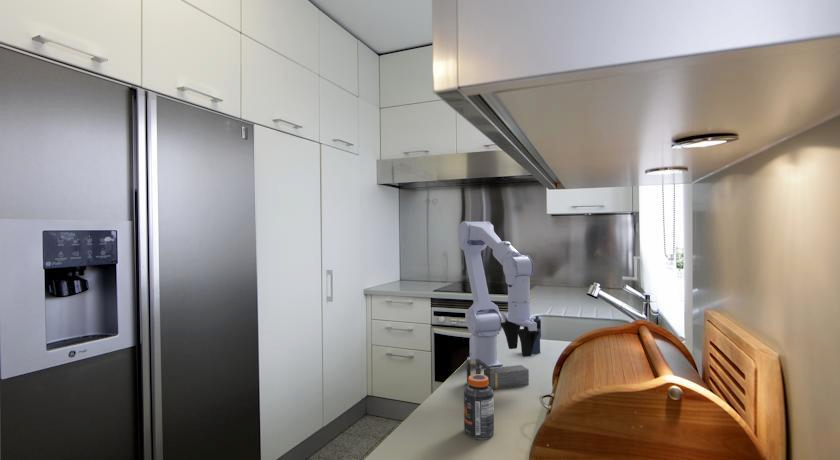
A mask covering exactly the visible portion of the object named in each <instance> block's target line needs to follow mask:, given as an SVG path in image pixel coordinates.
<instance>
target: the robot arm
mask: <svg viewBox="0 0 840 460" xmlns="http://www.w3.org/2000/svg"><path fill="white" fill-rule="evenodd" d="M494 228H495V227H494V224H492V223H491V222H490V221H488V220H485V221H465V220H462V221H461V222H460V224H459V226H458V230H457V237H458V241H459V246H460V249H461V250H462V251H463V253H464V258H465V265H466V269H467V270H466V271H467V274H468V280H469V286H470V290H471V297H472V301H473V303H472V305H471V306H470V307H468V309H467V310H466V315H467V316H466V317H467V318H466V326H467V329H468V331H469V332H470V333H471V335H470V337H469V356H468V357H467V358H466V360H468V359H469V358H470V359H469V360H470V361H472V362H476V359H479V360H481V361H482V362H483V363H485V364H486V365H488V366H489V367H490V368H491V367H497V366H498V367H501V366H503V363H502V362H501V361H499V360H498V335H499V334H500V332H501V331H502V330H503V332H504V334H505V335H504V336H505V338H506V343H507V346H508V349H509V350H516V349H517V348H518V341H520V349H521V355H522V357H524V358H527V357H532V354H533V353H532V350H533V346H534V343H535V340H536V338H537V336H538V335H539V333H540V330H538V329H537V323H536V322H534V319H535V317H534V316H531V287H530V285H531V284H530V283H531V282H530V281H531V280H530V278H531V277H532V276H533V274H534V272H535V263H534V261H533V258H531V256H530V255H528V254H527V255H524V254H521V253H520V252H519V251H518V250H516V248H514V247H513V245H512V243H511V242H510V241H506V240H505V241H504V240H503V241H502V240H501V238H500V237H499V236H498V234H496V232H495V229H494ZM487 246H488V247H489V248H490V249H492V256H493V257H494V259H496V260H497V261H498V263H499V264H500V265H501V266H502V270H503V274H504V277H505V283H506V284H507V312H504V313H503V314H501V313H500V309H499V306H498V305H497V304H495V303H494V302H493V301H491V299H490V294H489V289H488V284H487V278H486V274H485V269H484V264H483V258H482V255H481V254H482V251H484V250H485V249H486V248H487ZM502 315H503V316H502ZM521 327H522V328H521ZM480 368H484V367H483V366H481V365H480Z"/></svg>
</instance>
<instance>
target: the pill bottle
mask: <svg viewBox="0 0 840 460" xmlns="http://www.w3.org/2000/svg"><path fill="white" fill-rule="evenodd" d="M488 384H489V382H488V377H487V376H485V375H484V374H482V373H481V374H476V373H475V374H471V375H470V376H469V377H468V384H467V386H465V387H464V389H463V431H464V433H465V435H466V436H467V437H469V438H471V439H475V440H487V439H490V438H492V437H493V436H494V434H495V415H494V413H495V412H494V411H495V409H494V408H495V407H494V406H495V405H494V389H492V388H491V387H489V386H488Z"/></svg>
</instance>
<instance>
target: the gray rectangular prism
mask: <svg viewBox="0 0 840 460" xmlns="http://www.w3.org/2000/svg"><path fill="white" fill-rule="evenodd" d="M529 372H530V371H529V369H528V368H527V367H525V366H524V365H521V364H518V365H509V366H498V367H492V368H491V367H490V387H491V388H492V390H496V389H504V388H512V387H520V386H529V384H530V383H529V381H530V378H529V375H530V373H529ZM483 375H485V376H486V369H485V368H483Z"/></svg>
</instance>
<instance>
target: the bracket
mask: <svg viewBox="0 0 840 460" xmlns="http://www.w3.org/2000/svg"><path fill="white" fill-rule="evenodd" d="M476 365H477V366H478V367H480V365H481V366H483V367H482V368H483V369H486V376H487V377H488V382H489V384H488V386H489V387H490V368H491V367H489V366H488V365H486V364H485V363H483V362H482V361H481V360H479V359H476Z"/></svg>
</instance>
